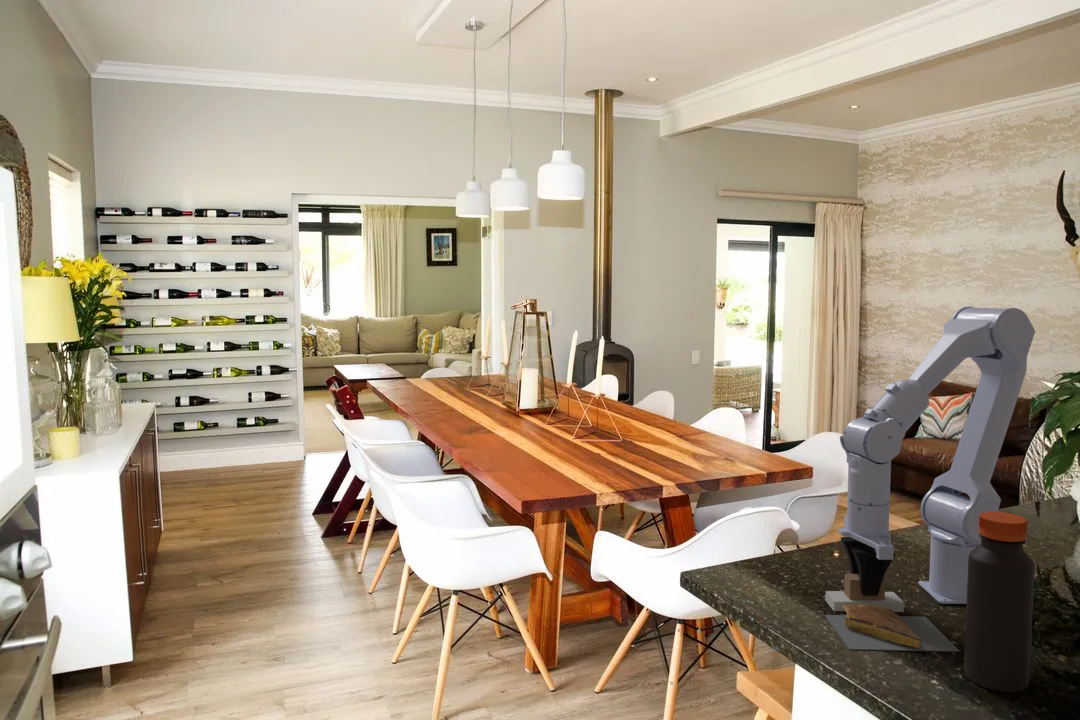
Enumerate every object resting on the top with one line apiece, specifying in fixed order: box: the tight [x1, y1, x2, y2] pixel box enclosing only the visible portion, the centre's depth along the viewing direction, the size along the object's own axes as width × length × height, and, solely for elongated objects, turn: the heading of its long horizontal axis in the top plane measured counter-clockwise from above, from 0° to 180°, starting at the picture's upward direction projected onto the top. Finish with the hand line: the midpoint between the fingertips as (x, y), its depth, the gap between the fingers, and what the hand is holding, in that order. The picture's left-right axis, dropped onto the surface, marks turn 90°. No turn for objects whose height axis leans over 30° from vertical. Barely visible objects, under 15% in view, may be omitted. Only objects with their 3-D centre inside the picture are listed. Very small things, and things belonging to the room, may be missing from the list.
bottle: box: [963, 511, 1036, 693], centre depth 93 cm, size 7×7×20 cm
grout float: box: [825, 573, 905, 613], centre depth 115 cm, size 10×4×4 cm, turn 87°
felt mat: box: [824, 614, 961, 653], centre depth 106 cm, size 14×10×1 cm
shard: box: [843, 604, 922, 648], centre depth 106 cm, size 11×8×2 cm
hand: (865, 590), depth 115 cm, fingers open, 3 cm apart
